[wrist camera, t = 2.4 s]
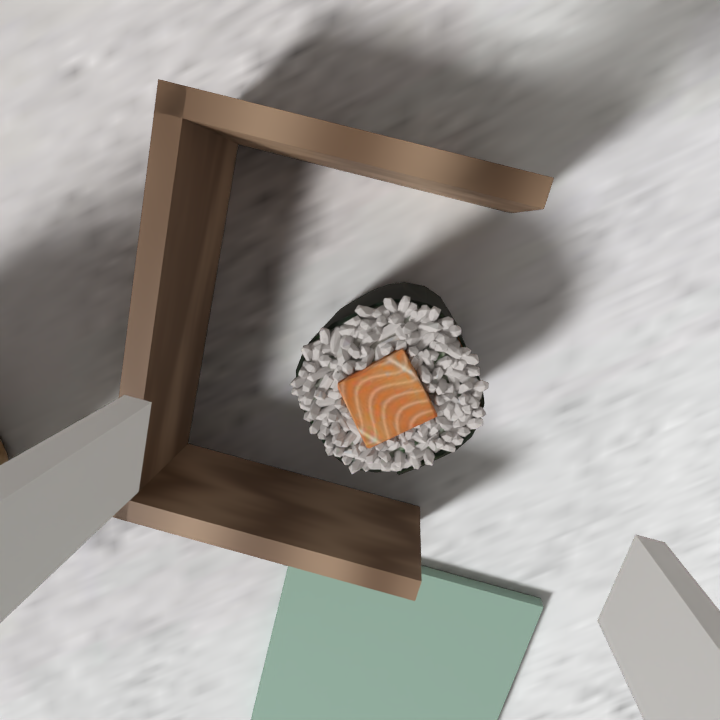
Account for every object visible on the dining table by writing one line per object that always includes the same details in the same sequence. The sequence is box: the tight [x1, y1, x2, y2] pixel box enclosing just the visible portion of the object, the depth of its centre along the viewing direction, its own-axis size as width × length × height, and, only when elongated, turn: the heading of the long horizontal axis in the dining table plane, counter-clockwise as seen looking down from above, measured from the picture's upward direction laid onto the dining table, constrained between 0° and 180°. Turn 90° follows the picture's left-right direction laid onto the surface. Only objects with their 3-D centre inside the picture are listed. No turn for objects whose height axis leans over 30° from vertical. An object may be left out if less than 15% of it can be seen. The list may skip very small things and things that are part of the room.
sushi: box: [290, 282, 489, 475], centre depth 26 cm, size 8×8×8 cm
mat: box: [251, 566, 543, 720], centre depth 35 cm, size 16×16×1 cm
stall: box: [113, 79, 554, 601], centre depth 27 cm, size 16×20×7 cm
